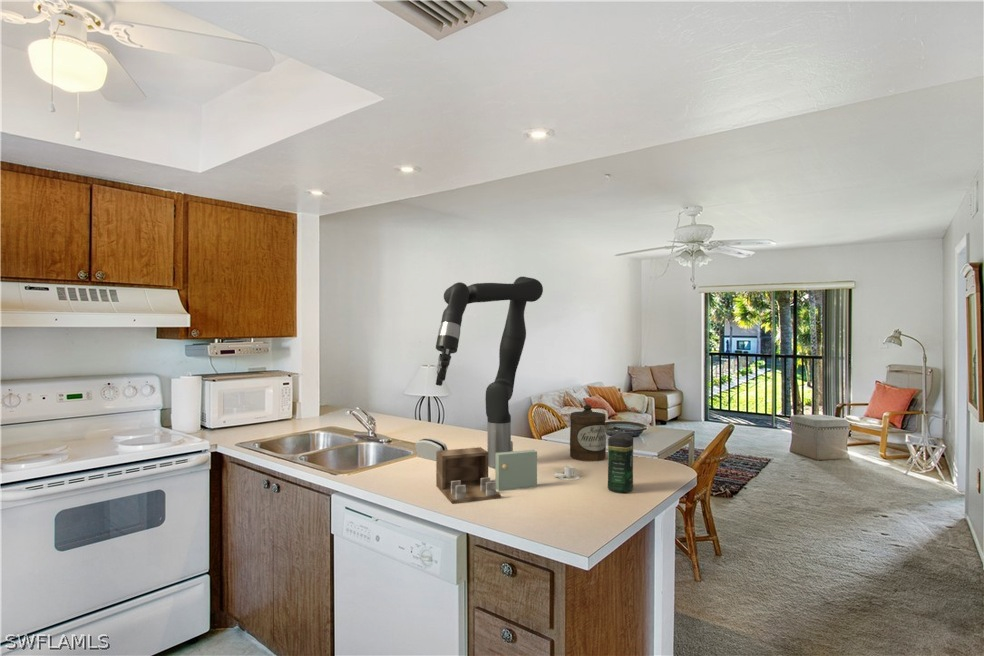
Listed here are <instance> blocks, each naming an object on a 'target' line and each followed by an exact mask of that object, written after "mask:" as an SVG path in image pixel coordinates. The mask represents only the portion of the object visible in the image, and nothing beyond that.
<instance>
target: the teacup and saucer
mask: <svg viewBox="0 0 984 656" xmlns="http://www.w3.org/2000/svg"><path fill="white" fill-rule="evenodd" d="M563 468H564V473H562V472H555V473H554V477H555V478H558V479H561V480H565V481H576V480H579V479H580V476H579V475H577V474H576V473H577V469H576V467H573V466H572V465H565V466H564V467H563ZM574 469H575V471H574ZM573 476H574V477H575V478H572V477H573ZM571 478H572V479H571Z"/></svg>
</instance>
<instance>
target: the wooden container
mask: <svg viewBox="0 0 984 656" xmlns="http://www.w3.org/2000/svg"><path fill="white" fill-rule="evenodd" d="M592 408H593V407H592V405H590V404H585V405H584V406H583V410H582V411H574V412H571V413H570V414H569V415H570V416H569V419H570V420H569V421H570V423H569V425H570V426H569V429H570V430H569V431H570V433H569V457H570V458H572V459H573V460H577V461H583V462H599V461H603V460H605V459H606V458H607V455H606V454H607V453H606V452H607V450H606V448H607V439H606V438H607V437H606V436H607V435H606V430H607V429H606V414H605V413H603V412H597V411H593V410H592Z"/></svg>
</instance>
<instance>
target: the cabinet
mask: <svg viewBox="0 0 984 656" xmlns="http://www.w3.org/2000/svg"><path fill="white" fill-rule="evenodd" d="M435 462H436V463H435V465H436V469H435V473H436V474H435V475H436V477H435V478H436V485H435V486H436V487H437V489H438V490H439V491H440V492H441V493H442V494H443V495H444V496H445V497H446V499H447V500H448V501H449V502H450V503H451V504H461V503H469V502H470V503H471V502H476V501H477V502H478V501H487V500H495V499H501V498H502V497H501V494H500V493H499V491H498V490H497V489H496V482H495V481H491V477H490V476H489V466H488V452H487V449H484V448H482V447H481V446H479V447H478V446H477V447H468V448H456V449H448V450H441V451H436V461H435Z"/></svg>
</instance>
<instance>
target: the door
mask: <svg viewBox="0 0 984 656" xmlns="http://www.w3.org/2000/svg"><path fill="white" fill-rule="evenodd" d="M494 469H495V470H494V471H495V482H496V491H497V492H500V491H501V492H502V491H503V492H504V491H512V490H520V489H529V488H537V487H538V451H537V450H535V449H526V450H513V451H512V452H501V453H495V468H494Z"/></svg>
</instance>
